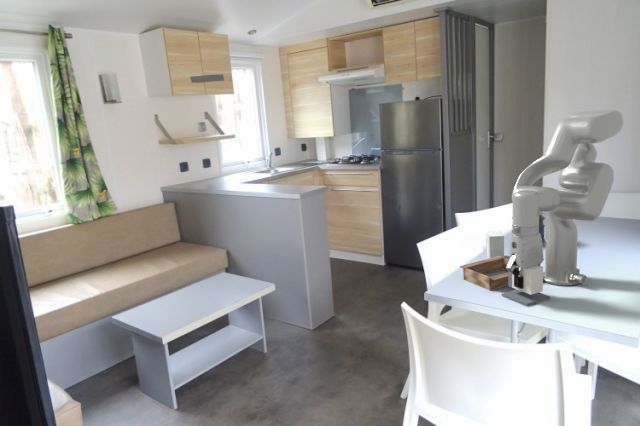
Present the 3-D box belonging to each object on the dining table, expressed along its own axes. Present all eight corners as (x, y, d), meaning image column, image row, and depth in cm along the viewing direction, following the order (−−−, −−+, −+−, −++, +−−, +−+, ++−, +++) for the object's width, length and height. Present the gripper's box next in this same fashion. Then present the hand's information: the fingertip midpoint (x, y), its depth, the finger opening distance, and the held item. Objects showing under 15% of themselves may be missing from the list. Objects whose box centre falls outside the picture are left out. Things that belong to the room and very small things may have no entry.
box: (542, 291, 141) (543, 266, 139) (531, 294, 139) (531, 270, 137) (519, 282, 149) (519, 259, 147) (508, 286, 147) (508, 262, 145)
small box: (504, 261, 179) (504, 236, 177) (489, 261, 180) (489, 236, 178) (500, 255, 186) (500, 230, 184) (486, 255, 188) (486, 231, 186)
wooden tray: (536, 279, 158) (536, 267, 157) (494, 292, 151) (494, 279, 150) (499, 267, 173) (498, 256, 172) (459, 278, 166) (459, 266, 165)
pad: (549, 298, 142) (550, 296, 142) (526, 306, 138) (526, 303, 138) (524, 289, 151) (524, 286, 151) (501, 295, 147) (501, 293, 147)
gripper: (514, 237, 133) (514, 295, 137) (555, 227, 140) (554, 283, 144) (495, 232, 140) (496, 287, 144) (535, 223, 147) (534, 276, 150)
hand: (525, 284), depth 144 cm, fingers closed on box, 5 cm apart
